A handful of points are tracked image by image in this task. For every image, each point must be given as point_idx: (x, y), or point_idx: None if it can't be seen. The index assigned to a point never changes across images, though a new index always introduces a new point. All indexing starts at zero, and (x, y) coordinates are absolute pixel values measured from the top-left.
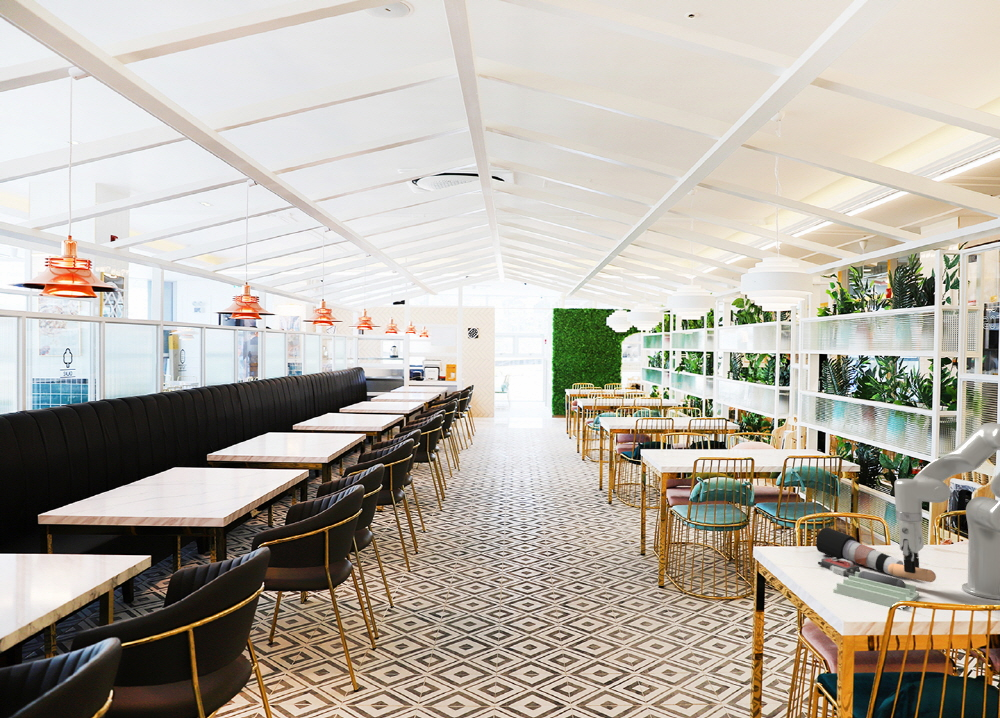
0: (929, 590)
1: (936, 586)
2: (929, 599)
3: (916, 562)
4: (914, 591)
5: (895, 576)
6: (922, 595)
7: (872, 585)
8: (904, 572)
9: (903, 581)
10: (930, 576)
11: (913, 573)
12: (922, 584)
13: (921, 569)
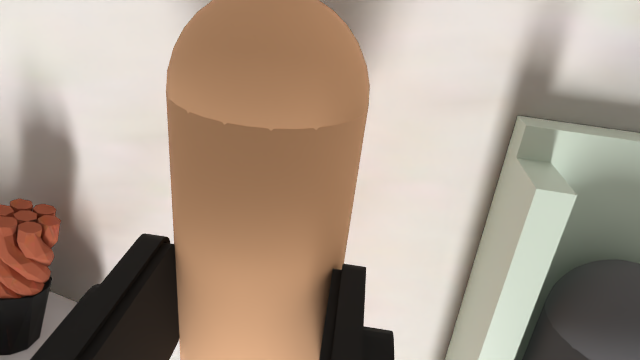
0: None
1: (46, 6)
2: (578, 12)
3: (123, 334)
4: (554, 170)
5: None
6: (467, 89)
7: None
8: None
9: (638, 327)
10: (359, 62)
11: None
12: (98, 122)
13: (280, 222)
